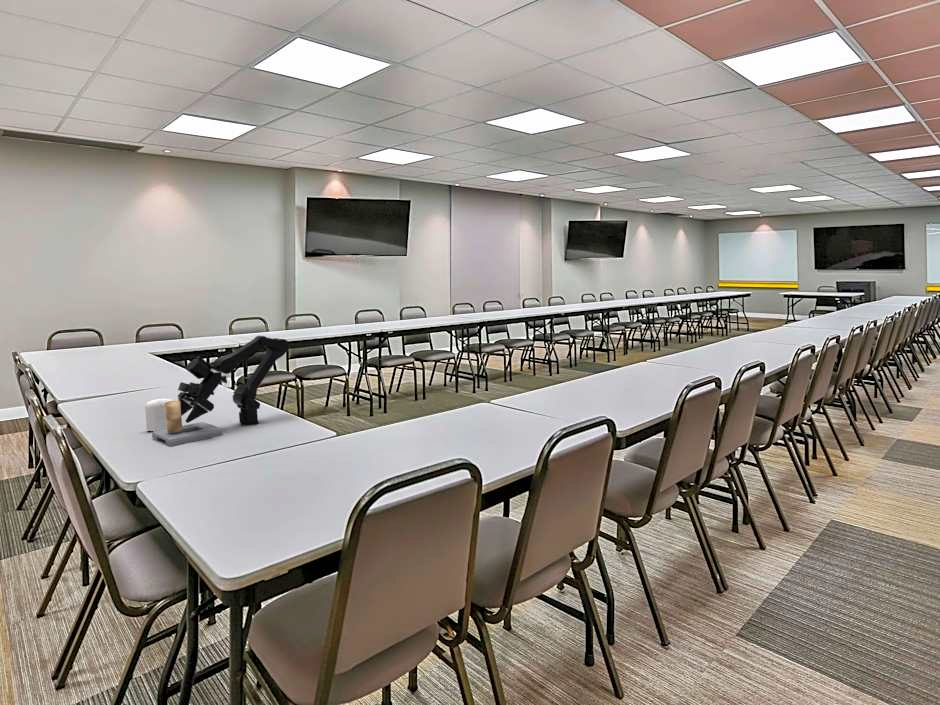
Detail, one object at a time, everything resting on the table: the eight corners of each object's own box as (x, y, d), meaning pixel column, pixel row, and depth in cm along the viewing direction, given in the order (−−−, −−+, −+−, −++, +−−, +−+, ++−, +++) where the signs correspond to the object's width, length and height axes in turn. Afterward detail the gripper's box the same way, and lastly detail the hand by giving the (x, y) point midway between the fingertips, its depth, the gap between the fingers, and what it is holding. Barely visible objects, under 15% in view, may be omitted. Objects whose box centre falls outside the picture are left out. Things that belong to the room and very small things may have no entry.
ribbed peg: (185, 437, 216) (182, 400, 214) (178, 441, 211) (175, 403, 209) (173, 437, 217) (169, 400, 215) (165, 441, 212) (161, 403, 210)
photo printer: (175, 426, 232) (173, 396, 230) (177, 428, 228) (174, 398, 227) (146, 430, 226) (143, 399, 225) (147, 433, 223) (144, 401, 221)
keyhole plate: (203, 427, 229) (202, 421, 229) (222, 434, 219) (222, 428, 219) (152, 438, 215) (151, 432, 215) (170, 446, 205) (169, 439, 205)
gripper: (180, 371, 222) (153, 404, 216) (202, 376, 210) (174, 412, 204) (202, 387, 229) (176, 420, 223) (225, 393, 217) (198, 428, 211)
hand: (181, 420), depth 215 cm, fingers open, 9 cm apart
